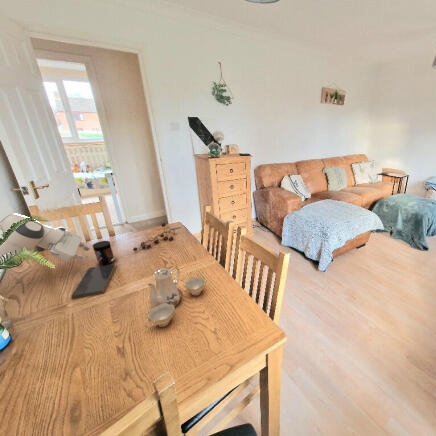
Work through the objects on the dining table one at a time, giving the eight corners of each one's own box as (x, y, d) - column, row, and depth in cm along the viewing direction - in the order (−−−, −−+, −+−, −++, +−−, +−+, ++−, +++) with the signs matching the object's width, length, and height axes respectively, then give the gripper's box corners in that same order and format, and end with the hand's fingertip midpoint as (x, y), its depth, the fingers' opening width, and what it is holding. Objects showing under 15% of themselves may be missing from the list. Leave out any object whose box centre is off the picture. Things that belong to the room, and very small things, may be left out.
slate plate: (72, 298, 94) (71, 295, 93) (90, 270, 111) (89, 267, 110) (103, 293, 97) (102, 290, 97) (115, 266, 114) (114, 264, 114)
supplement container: (101, 259, 119) (96, 241, 115) (117, 258, 121) (112, 240, 117) (95, 267, 113) (89, 248, 109) (112, 265, 115) (106, 246, 111)
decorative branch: (131, 243, 123) (171, 213, 146) (129, 253, 128) (168, 222, 152) (150, 255, 124) (186, 224, 147) (147, 264, 129) (183, 232, 153)
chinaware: (166, 341, 80) (163, 303, 73) (124, 326, 83) (118, 288, 76) (211, 289, 105) (212, 257, 99) (178, 279, 108) (176, 247, 101)
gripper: (51, 244, 96) (88, 259, 104) (63, 225, 112) (94, 239, 120) (39, 256, 95) (78, 270, 104) (53, 235, 111) (86, 249, 120)
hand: (87, 253), depth 112 cm, fingers open, 8 cm apart
